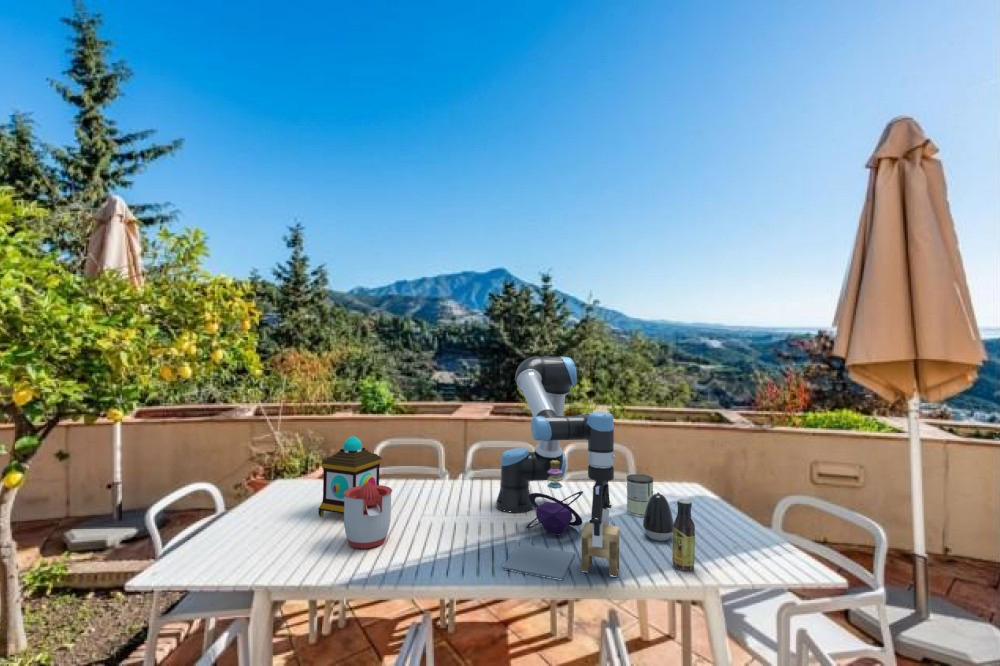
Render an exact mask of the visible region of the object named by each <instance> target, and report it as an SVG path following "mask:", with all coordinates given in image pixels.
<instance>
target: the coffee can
mask: <svg viewBox="0 0 1000 666" xmlns="http://www.w3.org/2000/svg"><path fill="white" fill-rule="evenodd" d="M626 492H627V493H626V499H627V500H626V507H627V509H626V512H627V513H628V514H629V515H631V516H634V517H640V518H642V517H643V518H644V514H645V510H646V506H647V503H648V501H649V499H650V498H651V496H652V495H654V478H653V477H652V476H650V475H646V474H641V473H640V474H637V473H636V474H628V475H626Z"/></svg>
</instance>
